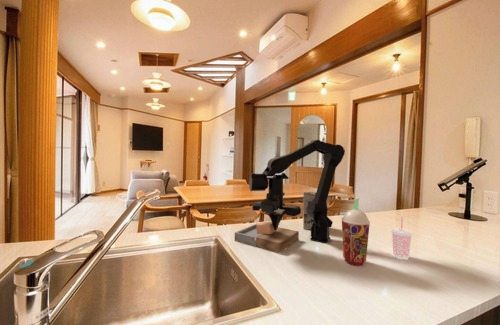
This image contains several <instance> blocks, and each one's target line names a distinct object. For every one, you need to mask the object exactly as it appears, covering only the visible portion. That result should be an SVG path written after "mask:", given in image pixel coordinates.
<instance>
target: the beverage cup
mask: <svg viewBox="0 0 500 325" xmlns="http://www.w3.org/2000/svg"><path fill="white" fill-rule="evenodd" d="M403 222H404V216H403V215H401V216H400V228H398V227H397V228H396V227H395V228H391V230H390V231H391V234H392V235H391V238H392V241H391V242H392V256H393V258H395V257H396V258H395V259H399V260H402V259H407V260H409V259H408V258H410V252H411V251H410V250H411V241H412V236H413V232H412V231H411V230H409V229H405V228H404V227H403V225H404V223H403Z"/></svg>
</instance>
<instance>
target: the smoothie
mask: <svg viewBox="0 0 500 325" xmlns="http://www.w3.org/2000/svg"><path fill="white" fill-rule="evenodd" d="M370 223H371V221H370V220H369V218H368V216H367V214H366V213H365V212H364V211H362V210H360V209H358V201H357V200H354V208H352V209H349V210H348V211H346V212H345V213H344V215H343V217H342V218H341V233H342V257H343V258H344V262H346V263H347V264H348V265H351V266H357V267H359V266H364V264H365V262H366V261H367V253H368V245H369V244H368V243H369V234H370Z"/></svg>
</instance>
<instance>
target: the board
mask: <svg viewBox="0 0 500 325" xmlns="http://www.w3.org/2000/svg"><path fill="white" fill-rule="evenodd" d="M299 232H300V231H298V230H294V229H290V228H284V227H279V226H278V228H277V231H275V232H273V233H272V234H262V235H260V236H258V237H256V246H255V247H257V248H261V249H265V250H268V251H272V252H275V253H279V254H280V253H283V251H285V250H286V249H287V248H289V247H290V246H292V245H293V244H295V243H296V242H298V241H299V239H300V238H299V236H300V233H299Z"/></svg>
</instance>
